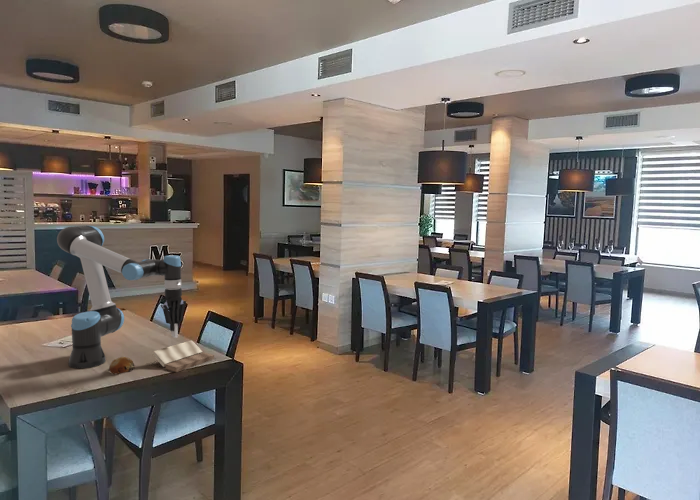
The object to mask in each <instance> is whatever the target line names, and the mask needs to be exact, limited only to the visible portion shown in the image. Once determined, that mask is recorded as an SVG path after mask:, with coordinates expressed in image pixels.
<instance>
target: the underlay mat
mask: <svg viewBox="0 0 700 500" xmlns="http://www.w3.org/2000/svg"><path fill="white" fill-rule="evenodd" d="M213 360H216V358H215V357H214V359H213ZM207 362H211V360H210V361H207ZM207 362H204V364H205V363H207ZM158 363H159V362H158V360H156V361H155V363H150V366H152V367H156V368H158V369H161V370H165V371H168V372H172V371H171V370H168V369H166V367H163V366H162V365H159V364H158ZM146 365H149V362H148V363H146ZM197 366H200V364H198V365H195V366H193V367H192V368H195V367H197ZM188 369H191V367H190V368H188ZM181 371H182V372H184V370H181ZM179 372H180V371H178V372H177V373H179ZM173 373H175V374H176V372H175V371H173Z"/></svg>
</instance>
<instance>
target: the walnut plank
mask: <svg viewBox="0 0 700 500" xmlns="http://www.w3.org/2000/svg"><path fill="white" fill-rule="evenodd" d="M214 358H215V354H211V353H207V352H202V353H200V354H197V355H193V356H190V357H187V358H184V359H181V360H178V361H175V362H172V363H169V364H166V365H165V367H164V368H165V370H166V369H167V370H168V371H169V370H171V371H170V372H175V373H179V372H181V371H182V370H183V371H185V370H188V369H189V368H190V369H191V368H194V367H196V366H195V365H197V366H199V365H202V364H205V362H206V363H207V362H208V361H210V362H211V361H214V360H215V359H214ZM198 364H199V365H198ZM193 366H194V367H193ZM178 371H179V372H178Z"/></svg>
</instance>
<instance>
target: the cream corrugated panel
mask: <svg viewBox="0 0 700 500" xmlns="http://www.w3.org/2000/svg"><path fill="white" fill-rule="evenodd" d="M200 353H203V350H202V349H201V348H200V347H199V346H198V345H197V344H196V343H195V342H194V341H193V340H188V341H184V342H181V343H177V344H174V345H171V346H167V347H163V348H159V349H156V350H153V351H152V356H153V357H154V358H155V359H156V361H158V362H157V363H158V364H159V365H160V366H161V367H162V366H163V367H162V368H166V367H165V365H166V364H169V363H172V362H175V361H178V360H181V359H184V358H187V357H190V356H193V355H197V354H200Z"/></svg>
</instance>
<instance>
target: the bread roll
mask: <svg viewBox="0 0 700 500" xmlns="http://www.w3.org/2000/svg"><path fill="white" fill-rule="evenodd" d="M134 369H135V363H134V361H133V360H132V359H131V358H130V357H128V356H120V357H117V358H114V359H113V360H112V361H111V363H110V364H109V372H110V373H111V374H114V375H120V374H123V373H129V372H131V371H133V370H134Z"/></svg>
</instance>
